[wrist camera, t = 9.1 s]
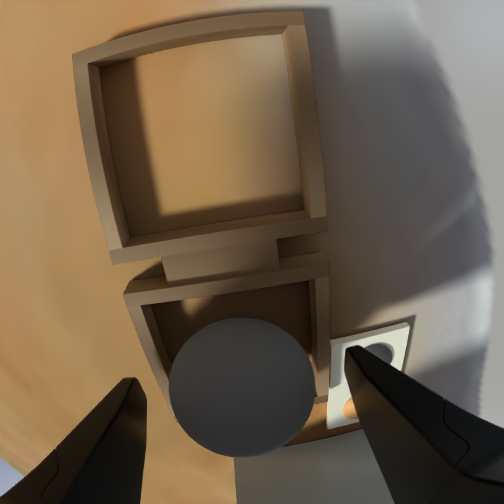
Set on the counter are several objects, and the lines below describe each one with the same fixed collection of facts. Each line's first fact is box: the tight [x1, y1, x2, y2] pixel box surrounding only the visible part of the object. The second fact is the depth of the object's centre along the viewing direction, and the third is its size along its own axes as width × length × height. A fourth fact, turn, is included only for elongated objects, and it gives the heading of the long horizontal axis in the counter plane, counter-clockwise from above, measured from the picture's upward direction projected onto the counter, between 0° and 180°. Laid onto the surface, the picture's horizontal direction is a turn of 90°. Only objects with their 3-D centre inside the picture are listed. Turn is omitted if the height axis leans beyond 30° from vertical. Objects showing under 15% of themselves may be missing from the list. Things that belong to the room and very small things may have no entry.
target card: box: [326, 322, 410, 429], centre depth 11 cm, size 5×3×1 cm, turn 8°
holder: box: [72, 11, 330, 422], centre depth 8 cm, size 12×6×1 cm, turn 8°
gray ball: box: [169, 317, 316, 458], centre depth 8 cm, size 4×4×4 cm
